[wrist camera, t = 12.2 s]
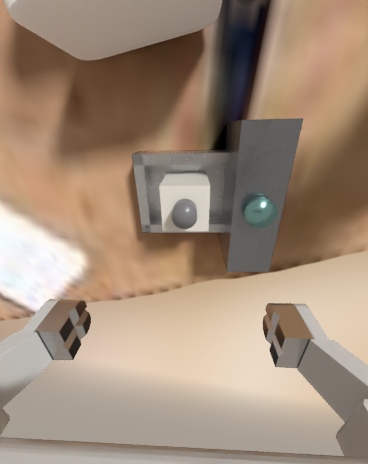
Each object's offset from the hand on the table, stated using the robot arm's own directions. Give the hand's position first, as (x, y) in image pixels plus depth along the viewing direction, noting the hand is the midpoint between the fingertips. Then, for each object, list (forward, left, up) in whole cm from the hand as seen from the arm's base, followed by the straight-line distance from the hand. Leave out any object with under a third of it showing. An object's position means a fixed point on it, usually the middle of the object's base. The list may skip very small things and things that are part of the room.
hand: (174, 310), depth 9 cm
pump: (0, 0, -20) cm, 20 cm away
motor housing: (-2, 0, -21) cm, 21 cm away
